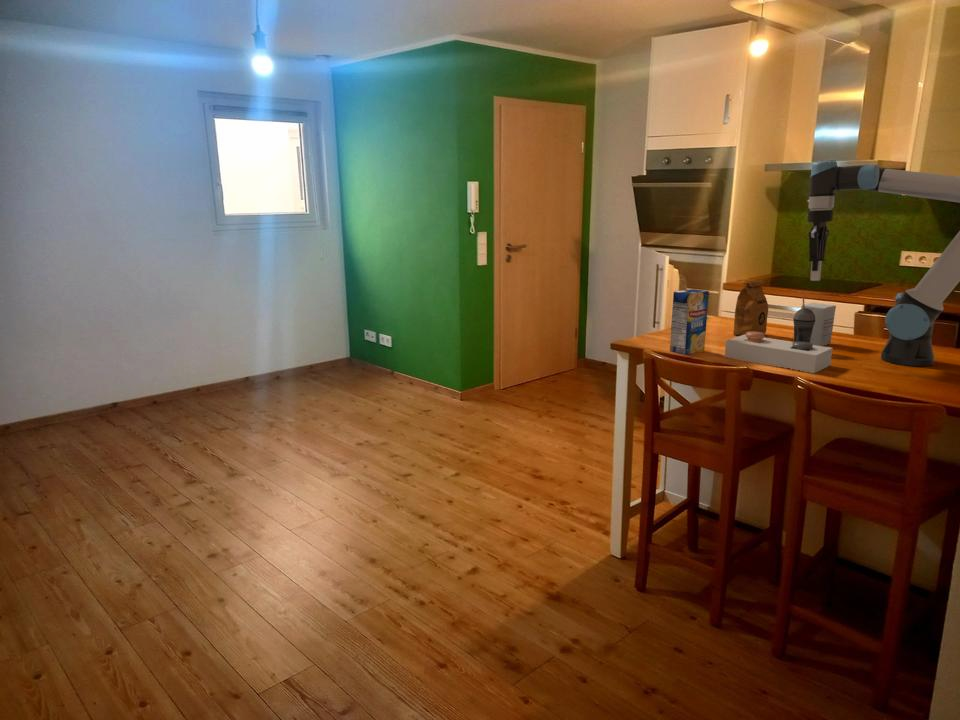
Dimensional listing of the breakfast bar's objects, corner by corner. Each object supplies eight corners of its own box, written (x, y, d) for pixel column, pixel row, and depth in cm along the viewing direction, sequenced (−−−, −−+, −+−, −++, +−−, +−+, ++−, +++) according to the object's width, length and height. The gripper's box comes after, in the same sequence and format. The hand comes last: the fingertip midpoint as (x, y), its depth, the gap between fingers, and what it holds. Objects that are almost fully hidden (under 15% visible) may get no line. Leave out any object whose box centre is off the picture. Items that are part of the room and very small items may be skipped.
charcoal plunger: (813, 359, 216) (815, 343, 214) (806, 363, 212) (808, 346, 210) (795, 356, 220) (797, 340, 218) (787, 359, 216) (789, 343, 215)
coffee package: (770, 335, 261) (775, 281, 256) (750, 339, 255) (755, 283, 249) (748, 331, 269) (753, 278, 264) (729, 334, 263) (734, 280, 258)
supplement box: (796, 343, 247) (800, 304, 244) (807, 340, 253) (812, 302, 249) (820, 347, 240) (825, 307, 237) (831, 344, 246) (836, 305, 242)
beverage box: (669, 351, 237) (673, 291, 231) (689, 347, 243) (693, 288, 237) (684, 355, 231) (689, 294, 226) (704, 350, 237) (709, 291, 232)
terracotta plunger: (766, 348, 227) (767, 333, 225) (758, 351, 223) (760, 335, 221) (749, 346, 231) (750, 330, 230) (741, 348, 227) (743, 333, 226)
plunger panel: (830, 365, 216) (832, 347, 214) (814, 373, 207) (816, 355, 205) (742, 350, 237) (744, 334, 236) (724, 357, 228) (726, 340, 226)
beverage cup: (814, 353, 232) (821, 298, 227) (792, 352, 233) (798, 297, 228) (808, 348, 239) (815, 295, 234) (787, 348, 240) (793, 294, 235)
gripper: (815, 209, 223) (810, 277, 228) (801, 210, 214) (796, 281, 219) (839, 208, 218) (833, 278, 223) (826, 209, 209) (820, 283, 214)
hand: (815, 280), depth 221 cm, fingers closed
